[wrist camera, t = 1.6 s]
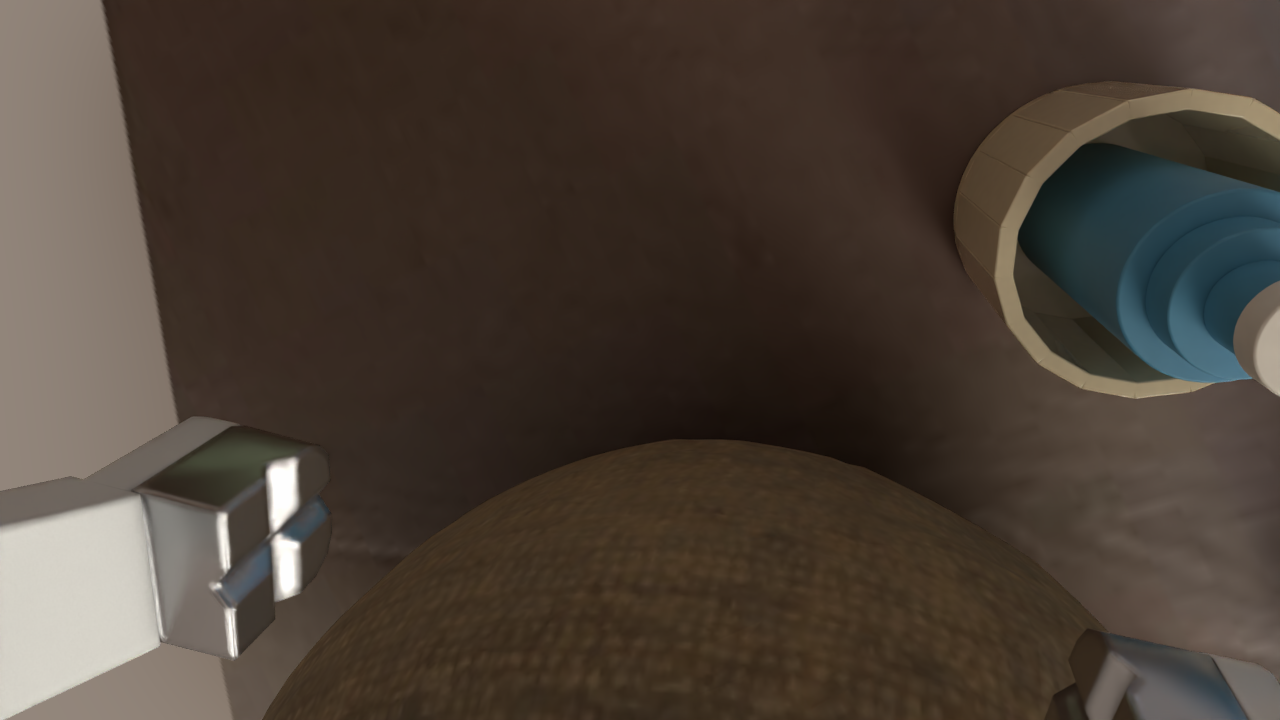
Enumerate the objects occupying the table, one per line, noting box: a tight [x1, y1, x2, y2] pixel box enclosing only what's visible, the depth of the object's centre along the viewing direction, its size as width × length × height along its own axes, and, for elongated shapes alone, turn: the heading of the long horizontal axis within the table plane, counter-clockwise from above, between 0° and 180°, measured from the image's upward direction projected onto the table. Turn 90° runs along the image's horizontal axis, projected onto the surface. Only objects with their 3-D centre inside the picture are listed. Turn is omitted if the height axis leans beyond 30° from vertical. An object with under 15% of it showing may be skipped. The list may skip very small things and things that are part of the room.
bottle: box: [1018, 143, 1280, 396], centre depth 25 cm, size 5×5×16 cm
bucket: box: [953, 81, 1280, 398], centre depth 30 cm, size 10×10×8 cm
